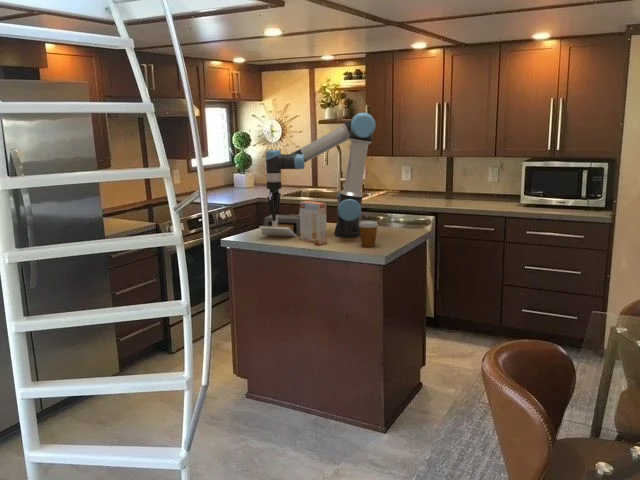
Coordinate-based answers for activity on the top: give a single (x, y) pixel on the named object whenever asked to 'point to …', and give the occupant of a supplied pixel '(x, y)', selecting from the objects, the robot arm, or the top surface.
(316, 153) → the robot arm
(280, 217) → the block
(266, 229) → the side door
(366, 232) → the disposable coffee cup
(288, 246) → the top surface
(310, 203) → the cracker box
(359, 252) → the top surface
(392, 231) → the top surface
